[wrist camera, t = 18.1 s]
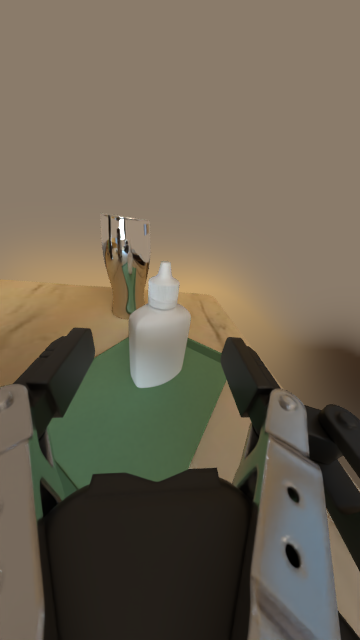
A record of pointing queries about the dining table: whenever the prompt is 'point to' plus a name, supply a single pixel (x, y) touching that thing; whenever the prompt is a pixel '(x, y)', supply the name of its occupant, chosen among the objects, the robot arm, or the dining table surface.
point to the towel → (135, 418)
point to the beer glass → (126, 260)
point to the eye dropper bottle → (158, 332)
